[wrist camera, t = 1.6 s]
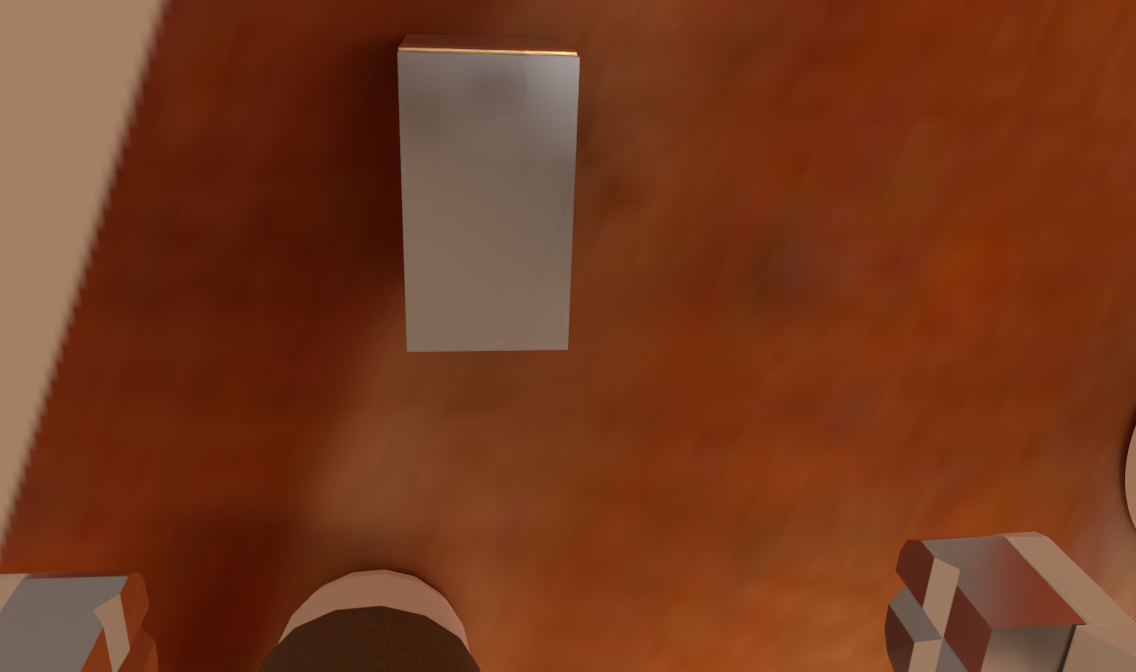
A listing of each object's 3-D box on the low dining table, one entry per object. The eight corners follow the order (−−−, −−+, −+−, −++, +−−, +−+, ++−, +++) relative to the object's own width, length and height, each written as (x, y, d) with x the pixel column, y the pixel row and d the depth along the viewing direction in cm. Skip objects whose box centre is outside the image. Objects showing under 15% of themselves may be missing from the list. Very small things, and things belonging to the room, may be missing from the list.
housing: (557, 35, 28) (579, 54, 23) (549, 289, 31) (568, 351, 26) (405, 30, 28) (397, 50, 23) (413, 289, 31) (406, 353, 26)
